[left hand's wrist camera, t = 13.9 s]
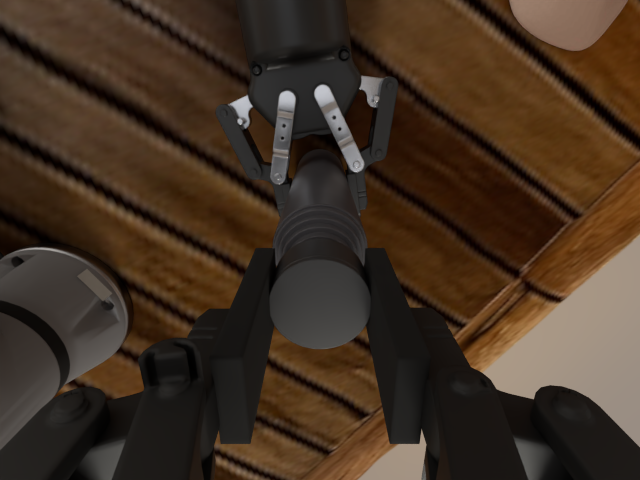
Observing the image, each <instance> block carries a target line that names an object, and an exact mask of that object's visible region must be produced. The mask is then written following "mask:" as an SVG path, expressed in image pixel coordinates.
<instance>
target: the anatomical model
mask: <svg viewBox="0 0 640 480" xmlns="http://www.w3.org/2000/svg"><path fill="white" fill-rule="evenodd" d="M509 1H510V6H511V9H512V12H513V14H514V16H515V17H516V19H517V21H518V22H519V23H520V24H521V25H522V26H523V27H524V28H525V29H526V30H527V31H528V32H529V33H531V34H532V35H534V36H535V37H537V38H539V39H541V40H543V41H545V42H547V43H549V44H551V45H554V46H556V47H559V48H562V49H566V50H572V51H579V50H583V49H586V48H588V47H589V46H591V45H592V44H593V43H595V42H596V41H597V40H598V39H599V38H600V37H601V35H602V34H603V33H604V32H605V31H606V30H607V28H608V27H609V26H610V25H611V23H612V22H613V21H614V20H615V18H616V17H617V16H618V14H619V13H620V12H621V10H622V9H623V7H624V6H625V4H626V3H627V1H628V0H509Z"/></svg>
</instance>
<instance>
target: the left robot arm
mask: <svg viewBox="0 0 640 480" xmlns="http://www.w3.org/2000/svg"><path fill="white" fill-rule="evenodd" d="M364 270H365V274H366V278H367V282H368V285H369V289H370V293H371V306H370V317H369V320H368V322H367V324H366V328H367V333H368V338H369V343H370V348H371V353H372V358H373V363H374V368H375V372H376V377H377V382H378V387H379V392H380V397H381V402H382V407H383V412H384V417H385V422H386V427H387V432H388V437H389V442H390V444H419V443H420V435H421V428H422V431H423V434H424V438H425V441H426V444H427V446H426V452H425V459H424V466H423V473H422V480H640V447H639V446H638V445H637V444H636V443H635V442H634V441H633V440H632V439H631V438H630V437H629V436H628V435H627V434H626V433H625V432H624V431H623V430H622V429H621V428H620V427H619V426H618V425H617V424H616V423H615V422H614V421H613V420H612V419H611V418H610V417H609V416H608V415H607V414H606V413H605V412H604V411H603V410H602V409H601V407H599V406H598V405H597V404H596V403H595V402H593V401H592V400H591V399H590V398H588V397H586V396H584V395H583V394H581V393H579V392H577V391H575V390H572V389H568V388H565V387H562V386H551V385H550V386H545V387H541V388H540V389H539V390H538V391H537V392H536V394H535V398H534V399H529V398H525V397H521V396H517V395H512V394H508V393H505V392H502V391H499V390H497V389H496V388H495V386H494V385H493V383H492V381H491V380H490V379H489V378H488V377H487V376H485V375H484V374H483V373H481V372H479V371H477V370H475V369H473V368H471V367H470V365H469V363H468V361H467V360H466V358H465V356H464V354H463V353H462V351H461V349H460V347H459V345H458V344H457V342H456V340H455V338H453V335H452V333H451V331H450V329H448V326H447V324H446V322H445V320H444V319H443V317H442V316H441V315H440V314H438V313H437V312H436V311H435V310H433V309H432V308H410V307H409V305H408V302H407V300H406V298H405V295H404V293H403V291H402V288H401V286H400V284H399V281H398V279H397V277H396V274H395V272H394V270H393V267H392V265H391V263H390V260H389V258H388V256H387V253H386V251H385V249H384V248H365V263H364ZM275 271H276V258H275V248H256V249H255V252H254V254H253V256H252V259H251V261H250V263H249V266H248V268H247V270H246V273H245V275H244V277H243V280H242V282H241V284H240V287H239V289H238V291H237V294H236V296H235V298H234V301H233V303H232V305H231V308H230V309H209V310H207V311H206V312H205V313H203V314H202V315H201V316H200V317H198V319H197V321H196V322H195V324H194V326H193V328H192V330H191V331H190V333H189V335H188V337H187V338H172V339H167V340H163V341H161V342H158V343H156V344H154V345H152V346H150V347H149V348H148V349H146V350H145V351H144V352H143V353H142V354H141V356H140V357H139V358H138V362H139V366H140V371H141V375H142V380H143V384H144V391H142V392H140V393H137V394H133V395H130V396H126V397H121V398H117V399H113V400H109V401H107V400H106V396H105V394H104V393H103V392H102V391H101V390H100V389H98V388H93V387H84V388H77V389H74V390H71V391H68V392H65V393H63V394H61V395H59V396H57V397H55V398H54V399H52V398H53V397H54V396H55V395H56V393H57V392H58V391H59V390H60V389H61V388H62V387H63V386H64V385H65V384H66V383H68V382H70V381H72V380H73V379H75V378H77V377H78V376H80V375H82V374H83V373H85V372H87V371H89V370H90V369H92V368H94V367H95V366H97V365H99V364H101V363H102V362H104V361H105V360H107V359H108V358H110V357H111V356H112V355H113V354H114V353H115V352H116V351H117V350H118V349H119V347H120V346H121V345H122V344H123V342H124V341H125V340H126V339H127V337H128V335H129V333H130V331H131V328H132V324H133V307H132V303H131V299H130V296H129V294H128V292H127V290H126V288H125V286H124V285H123V283H122V282H121V280H120V279H119V278H118V276H117V275H116V274H115V273H114V272H113V271H112V270H111V269H110V268H109V267H108V266H107V265H105V264H104V263H103V262H101V261H100V260H99V259H97V258H96V257H94V256H92V255H90V254H89V253H87V252H84V251H82V250H80V249H77V248H74V247H71V246H67V245H63V244H56V243H38V244H32V245H28V246H25V247H23V248H20V249H18V250H16V251H14V252H12V253H10V254H8V255H6V256H3V255H2V254H1V253H0V480H214V473H215V462H216V459H215V452H214V444H215V440H216V437H217V434H218V431H219V434H220V441H221V444H250V443H251V438H252V433H253V428H254V423H255V418H256V413H257V408H258V403H259V398H260V393H261V388H262V383H263V379H264V374H265V369H266V364H267V359H268V354H269V349H270V344H271V339H272V334H273V329H274V324H273V322H272V320H271V317H270V302H269V294H270V290H271V286H272V283H273V279H274V275H275ZM51 399H52V400H51ZM50 400H51V401H50Z"/></svg>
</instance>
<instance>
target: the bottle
mask: <svg viewBox="0 0 640 480" xmlns="http://www.w3.org/2000/svg"><path fill="white" fill-rule="evenodd" d="M311 239H330V240H334V241H337V242H339V243H342V244H344V245H345V246H347V247H348V248H350V249H351V250H352V251H353V252H354V253H355V254H356V255H357V256H358V257H359V259H360V261H361V262H362V264H363V266H364V263H365V248H367V239H366V235H365V232H364V229H363V226H362V223H361V220H360V217H359V214H358V211H357V208H356V205H355V202H354V199H353V196H352V193H351V190H350V187H349V184H348V181H347V178H346V175H345V172H344V169H343V166H342V164H341V162H340V160H339V158H338V157H337V156H336V155H335V154H333V153H332V152H330V151H328V150H323V149H317V150H312V151H310V152H308V153H307V154H305V155H304V156H303V157H302V158H301V160H300V162H299V164H298V166H297V169H296V172H295V175H294V178H293V181H292V184H291V187H290V190H289V193H288V196H287V199H286V202H285V205H284V208H283V211H282V214H281V217H280V220H279V223H278V226H277V229H276V232H275V236H274V240H273V248H275V258H276V266H277V265H278V263H279V261H280V259H281V258H282V256H283V255H284V254H285V253H286V252H287V251H288V250H289V249H290V248H292V247H293V246H295V245H297V244H298V243H301V242H303V241H306V240H311Z"/></svg>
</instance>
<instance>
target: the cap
mask: <svg viewBox="0 0 640 480" xmlns="http://www.w3.org/2000/svg"><path fill="white" fill-rule="evenodd" d="M269 302H270V317H271V320H272V322H273V324H274V325H275V327H276V328H277V330H278V331H279V332H280V333H281V334H282V335H283V336H284V337H286V338H287V339H288V340H290V341H291V342H293V343H295V344H297V345H300V346H303V347H307V348H312V349H328V348H333V347H337V346H340V345H343V344H345V343H347V342H349V341H350V340H352V339H353V338H355V337H356V336H357V335H358V334H359V333H360V332H361V331H362V330H363V328H364V327H365V326H366V324H367V322H368V320H369V317H370V306H371V293H370V289H369V285H368V282H367V278H366V274H365V270H364V267H363V264H362V262H361V261H360V259H359V257H358V256H357V255H356V254H355V253H354V252H353V251H352V250H351V249H350V248H348V247H347V246H345V245H344V244H342V243H339V242H337V241H334V240H330V239H311V240H306V241H303V242H301V243H298V244H297V245H295V246H293V247H292V248H290V249H289V250H288V251H287V252H286V253H285V254H284V255H283V256H282V258H281V259H280V261H279V263H278V265H277V267H276V271H275V275H274V279H273V283H272V286H271V290H270V294H269Z"/></svg>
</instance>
